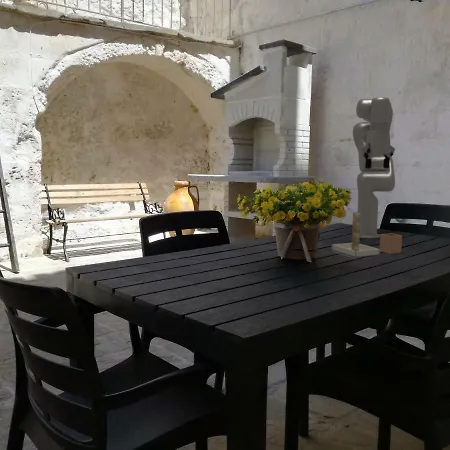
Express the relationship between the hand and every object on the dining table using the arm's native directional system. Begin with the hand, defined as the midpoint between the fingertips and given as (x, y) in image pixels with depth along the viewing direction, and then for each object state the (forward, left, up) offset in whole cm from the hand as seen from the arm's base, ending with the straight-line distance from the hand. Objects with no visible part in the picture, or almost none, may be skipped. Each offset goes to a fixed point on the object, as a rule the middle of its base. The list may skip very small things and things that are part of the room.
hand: (377, 168), depth 221 cm
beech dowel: (+9, -17, -33) cm, 38 cm away
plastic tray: (+9, -17, -34) cm, 39 cm away
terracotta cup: (+15, -4, -34) cm, 38 cm away
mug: (-6, -30, -34) cm, 46 cm away
